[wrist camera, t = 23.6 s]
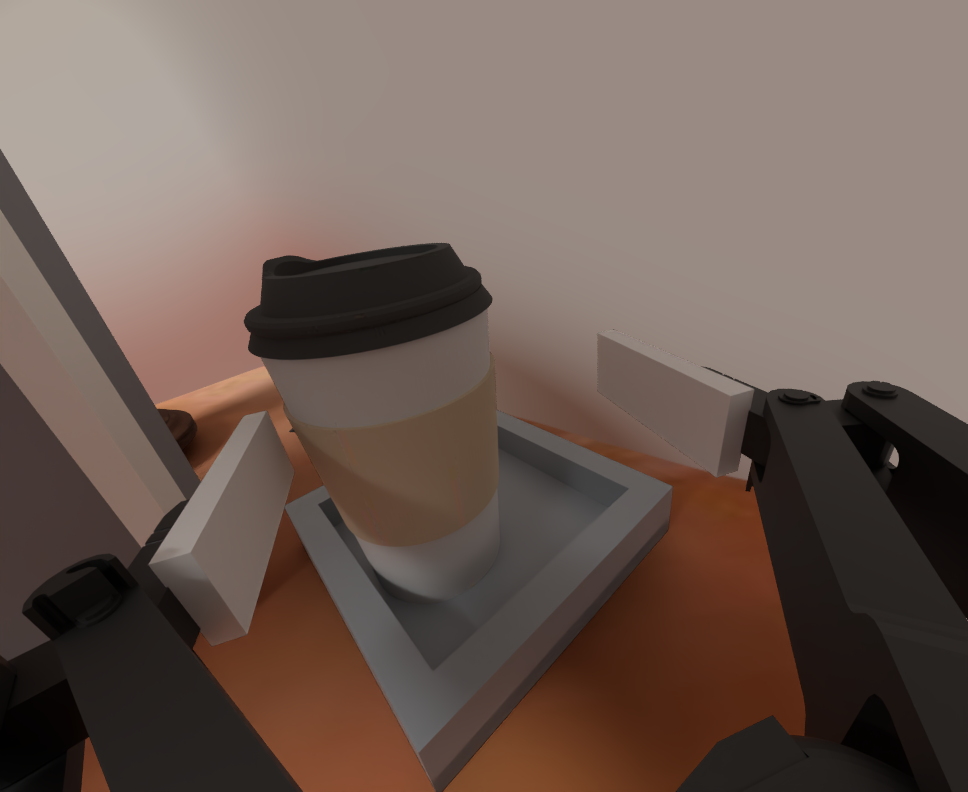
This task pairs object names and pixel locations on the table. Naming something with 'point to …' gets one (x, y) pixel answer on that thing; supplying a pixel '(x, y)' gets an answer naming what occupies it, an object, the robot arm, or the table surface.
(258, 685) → the table surface
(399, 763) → the table surface
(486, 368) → the coffee cup
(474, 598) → the tray
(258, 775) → the robot arm
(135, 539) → the cubby
